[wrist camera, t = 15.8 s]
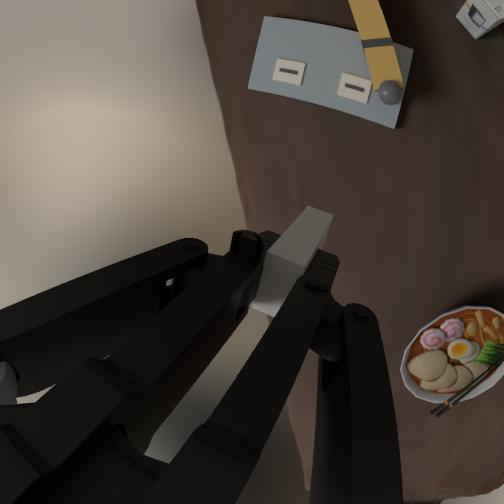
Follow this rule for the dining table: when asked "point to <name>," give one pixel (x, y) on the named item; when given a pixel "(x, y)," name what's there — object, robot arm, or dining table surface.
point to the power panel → (322, 68)
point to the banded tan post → (378, 50)
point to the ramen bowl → (455, 356)
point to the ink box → (481, 16)
